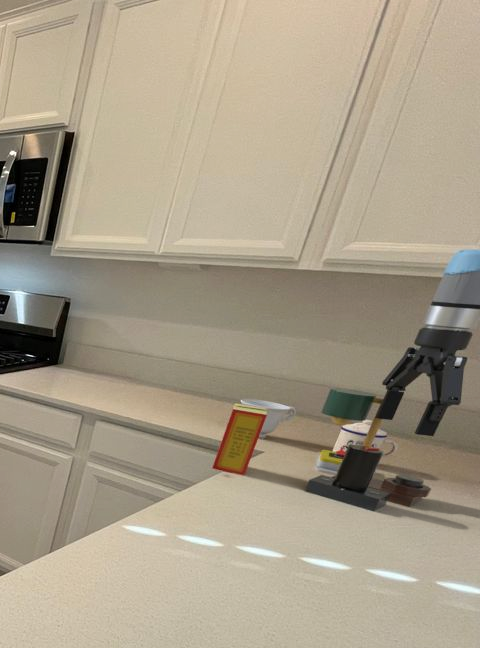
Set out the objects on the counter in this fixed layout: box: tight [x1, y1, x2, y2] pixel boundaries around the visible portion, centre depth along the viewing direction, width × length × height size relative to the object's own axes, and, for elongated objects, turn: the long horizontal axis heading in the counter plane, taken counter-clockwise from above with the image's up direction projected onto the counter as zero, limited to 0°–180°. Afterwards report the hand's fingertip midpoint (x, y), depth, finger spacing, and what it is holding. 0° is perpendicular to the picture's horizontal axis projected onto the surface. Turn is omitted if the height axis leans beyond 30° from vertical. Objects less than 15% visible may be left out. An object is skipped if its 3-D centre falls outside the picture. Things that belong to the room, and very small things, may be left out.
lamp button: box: [394, 474, 425, 488], centre depth 133 cm, size 4×4×2 cm
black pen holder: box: [333, 445, 384, 491], centre depth 131 cm, size 6×6×9 cm
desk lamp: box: [321, 387, 384, 447], centre depth 141 cm, size 12×8×18 cm, turn 31°
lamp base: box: [331, 475, 432, 508], centre depth 137 cm, size 15×10×4 cm, turn 31°
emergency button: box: [314, 449, 346, 476], centre depth 153 cm, size 9×4×15 cm
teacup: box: [240, 398, 297, 439], centre depth 180 cm, size 12×15×10 cm
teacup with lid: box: [332, 419, 398, 459], centre depth 159 cm, size 12×9×12 cm
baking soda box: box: [211, 402, 267, 476], centre depth 147 cm, size 10×6×16 cm
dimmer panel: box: [304, 474, 391, 512], centre depth 133 cm, size 12×10×3 cm
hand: (402, 426), depth 128 cm, fingers open, 13 cm apart
